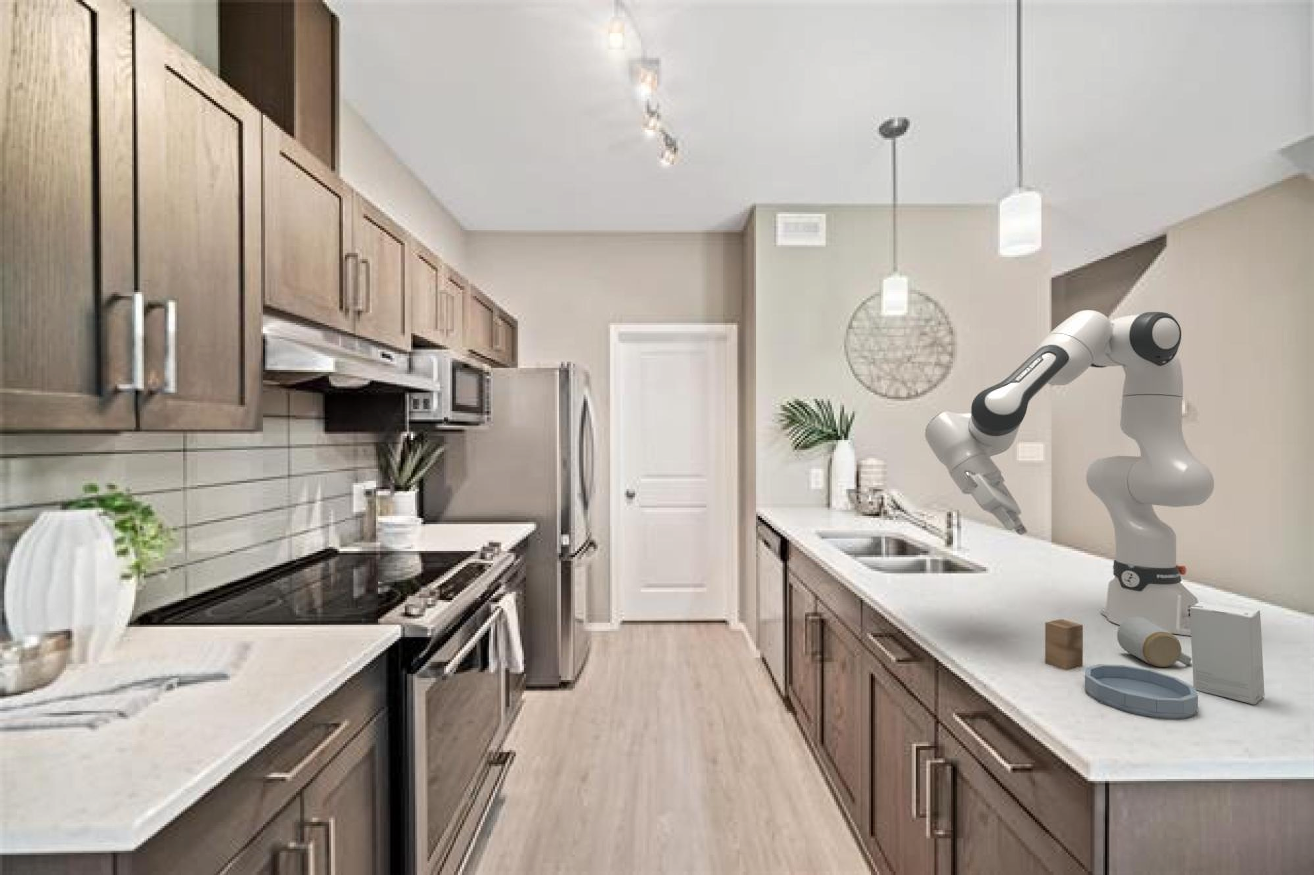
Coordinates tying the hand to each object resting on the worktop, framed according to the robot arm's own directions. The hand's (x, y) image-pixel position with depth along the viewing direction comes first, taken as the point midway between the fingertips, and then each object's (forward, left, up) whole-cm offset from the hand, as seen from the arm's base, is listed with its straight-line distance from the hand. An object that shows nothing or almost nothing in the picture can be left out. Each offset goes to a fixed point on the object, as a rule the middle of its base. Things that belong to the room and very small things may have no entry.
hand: (1018, 531), depth 127 cm
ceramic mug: (-19, +15, -25) cm, 35 cm away
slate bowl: (+3, +24, -25) cm, 35 cm away
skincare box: (-13, +29, -25) cm, 40 cm away
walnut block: (-1, +9, -25) cm, 26 cm away
